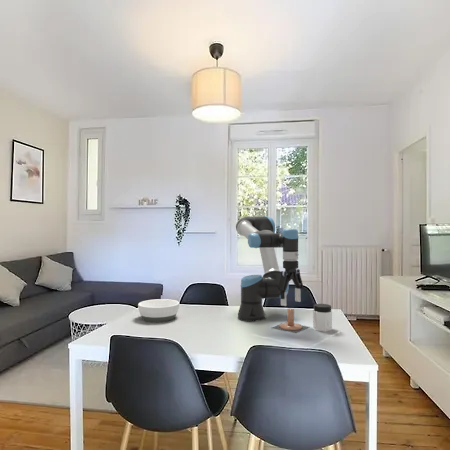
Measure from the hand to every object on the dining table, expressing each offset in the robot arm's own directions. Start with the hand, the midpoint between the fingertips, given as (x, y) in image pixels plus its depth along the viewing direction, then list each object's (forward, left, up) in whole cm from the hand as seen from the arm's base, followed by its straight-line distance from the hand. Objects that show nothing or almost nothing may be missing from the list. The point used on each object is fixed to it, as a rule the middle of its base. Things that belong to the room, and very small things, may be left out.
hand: (290, 303), depth 177 cm
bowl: (-66, -29, -13) cm, 73 cm away
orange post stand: (0, 0, -12) cm, 12 cm away
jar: (+13, +8, -13) cm, 20 cm away
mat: (0, 0, -12) cm, 12 cm away
